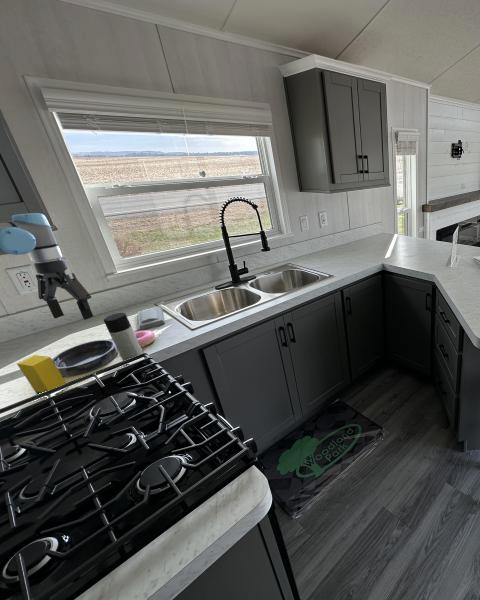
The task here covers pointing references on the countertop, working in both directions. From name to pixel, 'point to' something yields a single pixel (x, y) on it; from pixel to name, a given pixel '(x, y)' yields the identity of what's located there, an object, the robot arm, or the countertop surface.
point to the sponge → (41, 373)
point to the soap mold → (150, 317)
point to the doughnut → (145, 337)
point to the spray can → (123, 335)
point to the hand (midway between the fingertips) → (73, 317)
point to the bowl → (85, 357)
